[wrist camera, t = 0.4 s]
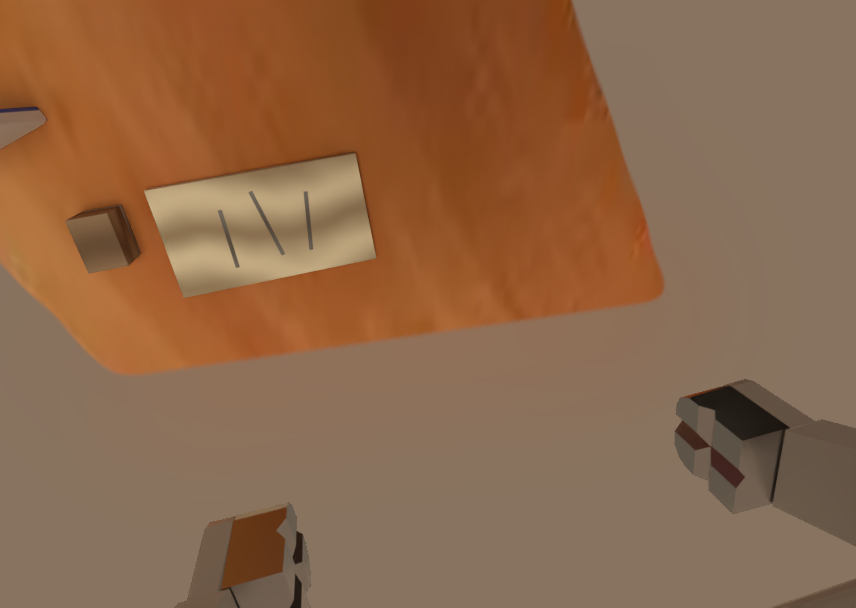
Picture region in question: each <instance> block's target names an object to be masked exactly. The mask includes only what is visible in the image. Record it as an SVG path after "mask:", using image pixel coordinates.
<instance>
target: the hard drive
mask: <svg viewBox="0 0 856 608" xmlns="http://www.w3.org/2000/svg"><path fill="white" fill-rule="evenodd" d="M46 120H47V119H46V117H45V116H44V115H43V114H42V112H41V111H40V110H39V109H38V108H37V107H24V108H11V109H0V149H1V148H3V147H5V146H7V145H8V144H10V143H12V142H14V141H15V140H17V139H19V138H21V137H22V136H24V135H26V134H28V133H29V132H31V131H33V130H35V129H36V128H38V127H40V126H41V125H43V124H44V123H45V122H46Z"/></svg>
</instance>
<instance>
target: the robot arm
mask: <svg viewBox="0 0 856 608" xmlns="http://www.w3.org/2000/svg"><path fill="white" fill-rule="evenodd" d="M676 415H677V416H678V417H679V418H680V419H681V420H682V421H681V423H680V424H679V426H678V427H677V429H676V430H675V446H676V449H677V452H678V455H679V457H680V459H681V460H682V462H683V464H684V465H685V466H686V468H687V469H688V470H689V471H690V472H691V473H692V474H693V475H695V476H698V477H700V478H703V479H705V480H708V489H709V491H710V492H711V493H712V494H713V495H714V496H715V497H716V498H717V499H718V500H719V501H720V502H721V503H722V504H723V505H724V506H725V507H726V508H727V509H728V510H729V511H730V512H731V513H732V514H735V513H739V512H743V511H747V510H750V509H754V508H757V507H761V506H765V505H769V504H773V506H774V507H776V508H778V509H780V510H782V511H784V512H786V513H788V514H790V515H792V516H794V517H797V518H798V519H801V520H803V521H805V522H807V523H809V524H811V525H813V526H815V527H817V528H819V529H821V530H823V531H825V532H828V533H829V534H831V535H833V536H836V537H838V538H840V539H842V540H844V541H846V542H848V543H850V544H852V545H854V546H856V428H853V427H849V426H845V425H841V424H838V423H834V422H830V421H826V420H818V421H814V420H812V419H811V418H810V417H808V416H806V415H805V414H803V413H802V412H800V411H799V410H797V409H796V408H794V407H793V406H791V405H790V404H788V403H787V402H785V401H783V400H782V399H780V398H779V397H777V396H775V395H774V394H773V393H771V392H770V391H768V390H767V389H765V388H763V387H762V386H760V385H759V384H757V383H756V382H754V381H751V380H747V379H744V380H740V381H737V382H734V383H730V384H726V385H724V386H722V387H718V388H714V389H710V390H706V391H703V392H699V393H695V394H692V395H688V396H685V397H681V398H680V399H679V401H678V403H677V407H676ZM296 528H297V516H296V514H295V511H294V509H293V506H292V504H290V503H285V504H281V505H277V506H273V507H269V508H265V509H261V510H256V511H252V512H248V513H244V514H240V515H237V516H235V517H231V518H226V519H222V520H218V521H213V522H210V523H209V524H208V525H207V527H206V528H205V530H204V534H203V538H202V542H201V546H200V550H199V554H198V558H197V562H196V566H195V570H194V574H193V578H192V582H191V586H190V590H189V594H188V598H187V601H184V602H181V603H178V604H177V605H176V606H175V608H311V607H310V605H309V602H308V599H307V596H306V592H307V591H308V589H309V588H310V586H311V571H310V563H309V555H308V551H307V546H306V542H305V539H304V536H303V534H302V533H300V532H298V531H296ZM770 608H856V579H853V580H850V581H847V582H844V583H841V584H838V585H835V586H832V587H829V588H826V589H823V590H820V591H817V592H814V593H811V594H809V595H805V596H803V597H799V598H796V599H794V600H790V601H788V602H785V603H782V604H779V605H776V606H773V607H770Z"/></svg>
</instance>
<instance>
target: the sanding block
mask: <svg viewBox="0 0 856 608" xmlns="http://www.w3.org/2000/svg"><path fill="white" fill-rule="evenodd" d="M65 222H66V224H67V226H68V229H69V231H70V233H71V235H72V237H73V240H74V242H75V244H76V246H77V249H78V251H79V253H80V255H81V258H82V260H83V262H84V264H85V267H86V269H87V271H88V273H94V272H99V271H104V270H109V269H114V268H119V267H125V266H129V265H130V264H131V263H132V262H133V261H134V260H135V259H136V258H137V257H138V256H139V255H140V254H141V252H140V249H139V247H138V244H137V241H136V239H135V236H134V234H133V231H132V229H131V226H130V224H129V221H128V219H127V216H126V214H125V211H124V209H123V206H122V204H121V205H116V206H110V207H105V208H99V209H93V210H88V211H83V212H81V213H79V214H77V215H75V216H73V217H71V218H69V219H67V220H65Z"/></svg>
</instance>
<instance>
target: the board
mask: <svg viewBox="0 0 856 608" xmlns="http://www.w3.org/2000/svg"><path fill="white" fill-rule="evenodd" d="M144 192H145V195H146V198H147V200H148V203H149V206H150V208H151V211H152V214H153V216H154V219H155V222H156V224H157V227H158V230H159V232H160V235H161V238H162V240H163V243H164V246H165V249H166V251H167V254H168V257H169V259H170V262H171V265H172V267H173V270H174V273H175V275H176V278H177V281H178V283H179V286H180V289H181V291H182V294H183V297H184V298H186V297H191V296H196V295H200V294H205V293H210V292H215V291H220V290H225V289H230V288H234V287H239V286H244V285H249V284H254V283H259V282H263V281H268V280H273V279H278V278H283V277H288V276H293V275H297V274H302V273H307V272H312V271H317V270H322V269H327V268H331V267H336V266H341V265H346V264H351V263H356V262H361V261H365V260H370V259H375V258H376V254H375V249H374V244H373V239H372V234H371V229H370V224H369V219H368V214H367V209H366V204H365V199H364V194H363V189H362V184H361V179H360V174H359V168H358V163H357V158H356V153H355V152H352V153H347V154H341V155H335V156H330V157H324V158H318V159H313V160H307V161H302V162H296V163H290V164H285V165H279V166H273V167H268V168H262V169H256V170H251V171H245V172H240V173H234V174H228V175H223V176H217V177H211V178H206V179H200V180H194V181H189V182H183V183H177V184H172V185H166V186H161V187H155V188H149V189H147V190H145V191H144Z"/></svg>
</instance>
